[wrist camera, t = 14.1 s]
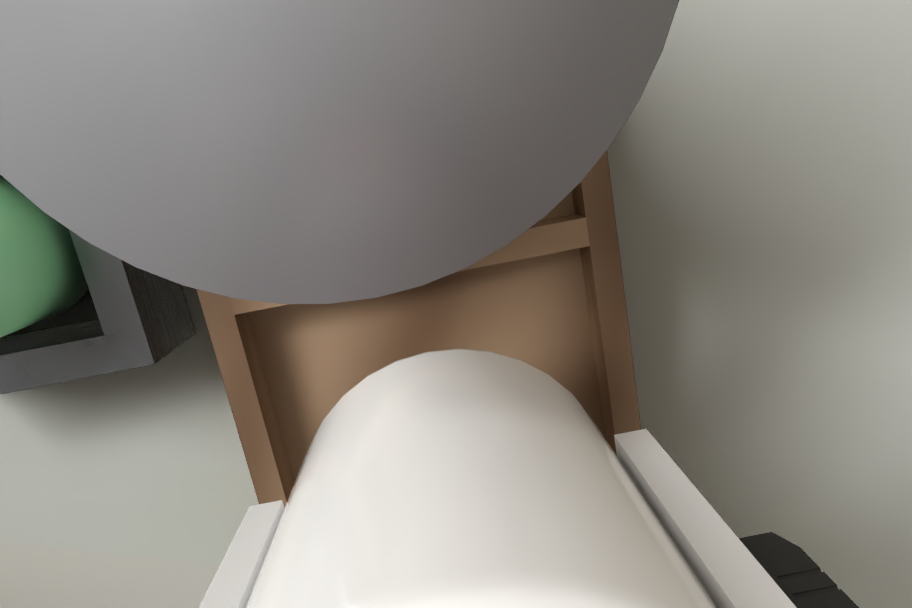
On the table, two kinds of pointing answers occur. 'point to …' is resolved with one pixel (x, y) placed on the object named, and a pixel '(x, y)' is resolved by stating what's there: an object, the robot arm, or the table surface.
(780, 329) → the table surface
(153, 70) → the seated part
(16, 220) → the button
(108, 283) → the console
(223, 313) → the brown divided tray
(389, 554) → the pill bottle
